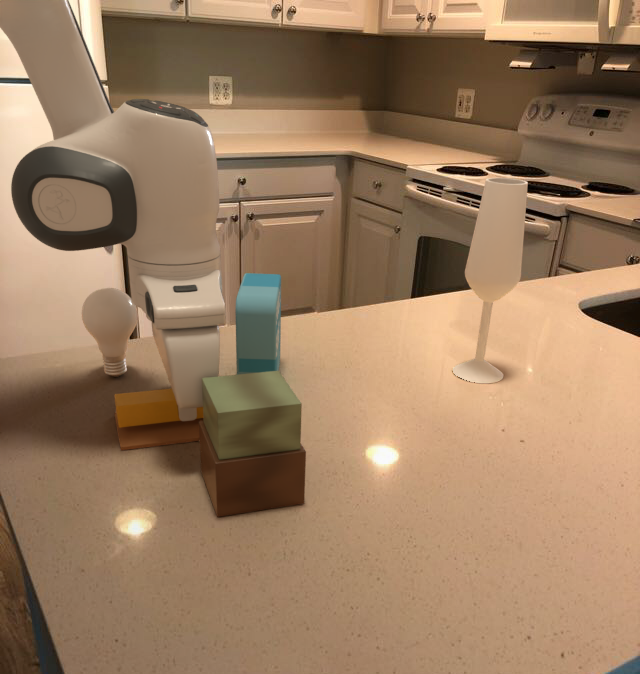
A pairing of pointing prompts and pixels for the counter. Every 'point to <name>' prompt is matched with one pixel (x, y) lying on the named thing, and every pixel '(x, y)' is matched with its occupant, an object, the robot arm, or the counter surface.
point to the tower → (251, 443)
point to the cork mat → (158, 434)
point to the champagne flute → (494, 262)
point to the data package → (258, 323)
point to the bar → (148, 408)
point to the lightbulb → (110, 325)
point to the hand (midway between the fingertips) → (184, 409)
